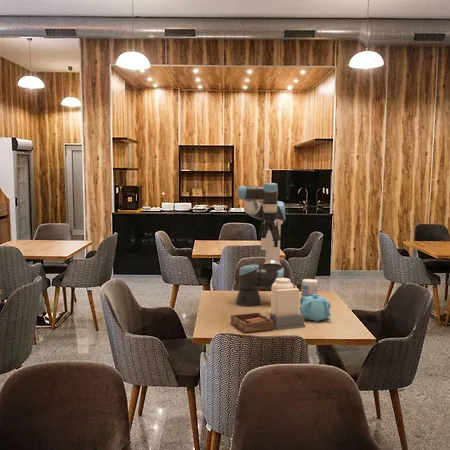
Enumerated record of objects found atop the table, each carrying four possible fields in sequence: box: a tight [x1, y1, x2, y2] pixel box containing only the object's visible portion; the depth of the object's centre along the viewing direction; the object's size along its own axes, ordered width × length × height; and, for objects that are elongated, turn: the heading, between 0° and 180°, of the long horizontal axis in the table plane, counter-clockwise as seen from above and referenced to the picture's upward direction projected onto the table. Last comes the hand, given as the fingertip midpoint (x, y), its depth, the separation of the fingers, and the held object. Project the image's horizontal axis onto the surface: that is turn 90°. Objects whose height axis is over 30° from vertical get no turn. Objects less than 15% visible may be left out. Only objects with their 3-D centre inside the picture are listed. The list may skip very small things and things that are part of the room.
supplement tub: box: [300, 278, 319, 302], centre depth 316 cm, size 10×10×15 cm
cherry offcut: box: [245, 317, 266, 324], centre depth 264 cm, size 6×9×2 cm, turn 124°
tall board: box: [275, 287, 300, 317], centre depth 269 cm, size 3×12×18 cm, turn 112°
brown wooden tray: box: [230, 312, 275, 334], centre depth 267 cm, size 18×16×4 cm
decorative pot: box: [299, 293, 332, 322], centre depth 284 cm, size 16×16×14 cm
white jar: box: [270, 277, 295, 314], centre depth 293 cm, size 12×12×20 cm
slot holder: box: [269, 313, 306, 331], centre depth 270 cm, size 10×16×6 cm, turn 112°
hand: (269, 251), depth 280 cm, fingers open, 13 cm apart
